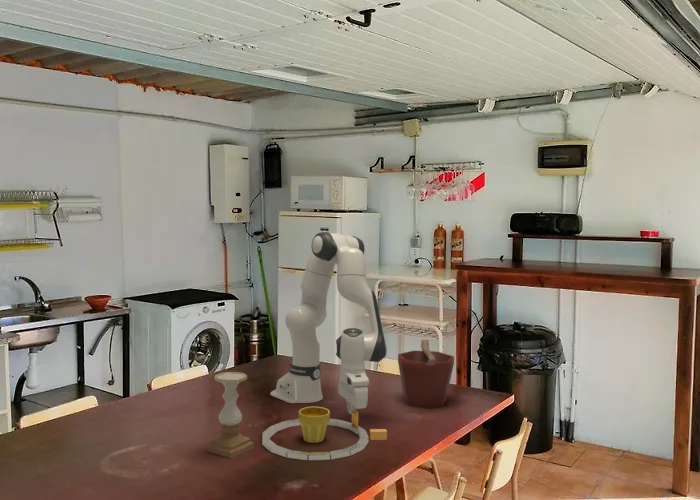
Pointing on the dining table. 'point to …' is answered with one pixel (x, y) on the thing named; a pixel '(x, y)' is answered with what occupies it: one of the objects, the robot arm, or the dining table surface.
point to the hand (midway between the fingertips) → (351, 413)
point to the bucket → (425, 376)
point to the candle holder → (230, 420)
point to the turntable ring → (317, 455)
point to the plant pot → (314, 423)
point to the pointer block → (378, 434)
